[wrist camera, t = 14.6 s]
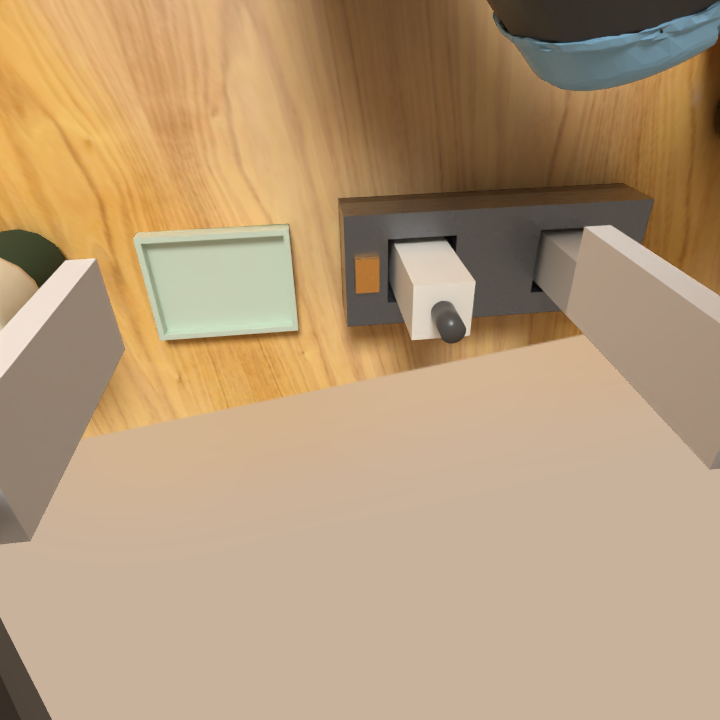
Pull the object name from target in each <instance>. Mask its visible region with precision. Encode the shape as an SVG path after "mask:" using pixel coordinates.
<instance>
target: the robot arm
mask: <svg viewBox="0 0 720 720" xmlns="http://www.w3.org/2000/svg"><path fill="white" fill-rule="evenodd" d="M487 1H488V3H489V5H490V6H491V8H492V10H493V11H494V12H493V19H494V21H495V23H496V25H497V27H498V29H499V30H500V32H501V33H502V34H503V35H504V36H505V37H507V38H508V39H509V40H510V41H511V42H513V43H514V44H515V46H516V47H517V49H518V50H519V52H520V53H521V54H522V56H523V57H524V59H525V60H526V62H527V63H528V65H529V66H530V67H531V69H532V70H533V72H534V73H535V74H536V75H537V76H538V77H539V78H541V79H542V80H544V81H547V82H548V83H550V84H551V85H553V86H557V87H558V88H561V89H565V90H572V91H592V90H601V89H607V88H612V87H617V86H621V85H624V84H628V83H631V82H635V81H638V80H641V79H644V78H647V77H650V76H652V75H655V74H657V73H660V72H662V71H665V70H667V69H669V68H672V67H674V66H676V65H678V64H680V63H682V62H685V61H686V60H688V59H690V58H692V57H694V56H696V55H698V54H699V53H701V52H703V51H705V50H707V49H708V48H710V47H712V46H713V45H715V44H716V42H717V39H718V34H720V0H487ZM566 315H567V316H568V317H569V319H570V320H571V321H572V322H573V323H574V324H575V325H576V326H577V327H578V328H579V329H580V330H581V332H582V333H583V334H584V335H585V336H586V337H587V338H588V339H589V340H590V341H591V342H592V343H593V344H594V346H595V347H596V348H597V349H598V350H599V351H600V352H601V353H602V354H603V355H604V356H605V357H606V358H607V359H608V361H609V362H610V363H611V364H612V365H613V366H614V367H615V368H616V369H617V370H618V371H619V372H620V373H621V375H622V376H623V377H624V378H625V379H626V380H627V381H628V382H629V383H630V384H631V385H632V386H633V387H634V389H635V390H636V391H637V392H638V393H639V394H640V395H641V396H642V397H643V398H644V399H645V400H646V402H647V403H648V404H649V405H650V406H651V407H652V408H653V409H654V410H655V411H656V412H657V413H658V414H659V416H660V417H661V418H662V419H663V420H664V421H665V422H666V423H667V424H668V425H669V426H670V427H671V428H672V430H673V431H674V432H675V433H676V434H677V435H678V436H679V437H680V438H681V439H682V440H683V441H684V442H685V443H686V445H687V446H688V447H689V448H690V449H691V450H692V451H693V452H694V453H695V454H696V455H697V456H698V458H700V460H701V461H702V462H703V463H704V464H705V465H706V466H707V467H708V468H709V469H718V468H720V296H719V295H718V294H716V293H715V292H713V291H712V290H710V289H709V288H707V287H706V286H704V285H702V284H701V283H699V282H698V281H696V280H695V279H693V278H692V277H690V276H689V275H687V274H685V273H684V272H682V271H681V270H679V269H678V268H676V267H675V266H673V265H672V264H670V263H668V262H667V261H665V260H664V259H662V258H661V257H659V256H658V255H656V254H655V253H653V252H652V251H650V250H648V249H647V248H645V247H644V246H642V245H641V244H639V243H638V242H636V241H635V240H633V239H631V238H630V237H628V236H627V235H625V234H624V233H622V232H621V231H619V230H618V229H616V228H615V227H613V226H611V225H604V226H588V227H584V231H583V236H582V240H581V245H580V250H579V254H578V259H577V264H576V268H575V273H574V278H573V282H572V287H571V292H570V296H569V301H568V306H567V310H566ZM124 350H125V347H124V344H123V341H122V337H121V334H120V331H119V328H118V325H117V322H116V319H115V316H114V312H113V309H112V306H111V303H110V300H109V297H108V294H107V291H106V287H105V284H104V281H103V278H102V275H101V272H100V269H99V265H98V262H97V259H96V258H95V259H80V260H65V261H64V263H63V264H62V265H61V266H60V267H59V268H58V269H57V270H56V271H55V272H54V273H53V275H52V276H51V277H50V278H49V279H48V280H47V281H46V282H45V283H44V284H43V285H42V287H41V288H40V289H39V290H38V291H37V292H36V293H35V294H34V295H33V296H32V297H31V298H30V300H29V301H28V302H27V303H26V304H25V305H24V306H23V307H22V308H21V309H20V310H19V312H18V313H17V314H16V315H15V316H14V317H13V318H12V319H11V320H10V321H9V322H8V324H7V325H6V326H5V327H4V328H3V329H2V330H1V331H0V544H7V543H17V542H27V541H31V539H32V536H33V535H34V532H35V531H36V528H37V527H38V525H39V522H40V520H41V518H42V516H43V514H44V512H45V510H46V508H47V506H48V504H49V502H50V500H51V498H52V496H53V494H54V492H55V490H56V488H57V486H58V484H59V482H60V480H61V478H62V476H63V474H64V471H65V470H66V468H67V466H68V464H69V462H70V460H71V458H72V456H73V454H74V451H75V450H76V447H77V446H78V443H79V441H80V439H81V437H82V435H83V433H84V431H85V429H86V427H87V425H88V423H89V421H90V419H91V417H92V415H93V413H94V411H95V409H96V407H97V405H98V403H99V401H100V399H101V397H102V395H103V393H104V391H105V389H106V387H107V385H108V383H109V381H110V379H111V377H112V375H113V373H114V371H115V369H116V367H117V364H118V362H119V360H120V358H121V356H122V354H123V352H124ZM0 720H52V719H51V717H50V715H49V713H48V711H47V709H46V707H45V705H44V703H43V701H42V699H41V698H40V695H39V693H38V691H37V689H36V687H35V685H34V684H33V682H32V680H31V678H30V676H29V674H28V672H27V670H26V668H25V666H24V664H23V662H22V660H21V658H20V656H19V654H18V652H17V650H16V648H15V646H14V644H13V642H12V640H11V638H10V636H9V634H8V632H7V630H6V628H5V626H4V624H3V622H2V620H1V618H0Z"/></svg>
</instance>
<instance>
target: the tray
mask: <svg viewBox="0 0 720 720" xmlns="http://www.w3.org/2000/svg"><path fill="white" fill-rule="evenodd" d="M133 240H134V244H135V248H136V252H137V255H138V259H139V263H140V267H141V270H142V274H143V278H144V282H145V285H146V289H147V293H148V296H149V300H150V304H151V308H152V311H153V315H154V319H155V323H156V326H157V330H158V334H159V338H160V341H162V340H175V339H189V338H202V337H216V336H229V335H243V334H256V333H270V332H283V331H297V330H298V316H297V305H296V295H295V285H294V275H293V264H292V254H291V244H290V234H289V224H278V225H261V226H243V227H226V228H208V229H191V230H173V231H156V232H138V233H137V234H136V235H135V237H134V238H133Z"/></svg>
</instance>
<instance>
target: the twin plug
mask: <svg viewBox="0 0 720 720" xmlns="http://www.w3.org/2000/svg"><path fill="white" fill-rule="evenodd" d="M583 231H584V228H568V229H551V230H541V234H540V240H539V246H538V252H537V257H536V263H535V269H534V275H533V280H534V281H535V282H536V283H537V285H538V286H539V287H540V288H541V289H542V290H543V291H544V292H545V293H546V294H547V295H548V296H549V297H550V298H551V300H552V301H553V302H554V303H555V304H556V305H557V306H558V307H559V308H560V309H561V310H562V311H563V312H564V314H565V315H566V310H567V306H568V301H569V296H570V292H571V287H572V282H573V278H574V273H575V268H576V264H577V259H578V254H579V250H580V245H581V240H582V236H583ZM566 316H567V315H566ZM567 317H568V316H567ZM568 318H569V317H568Z"/></svg>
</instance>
